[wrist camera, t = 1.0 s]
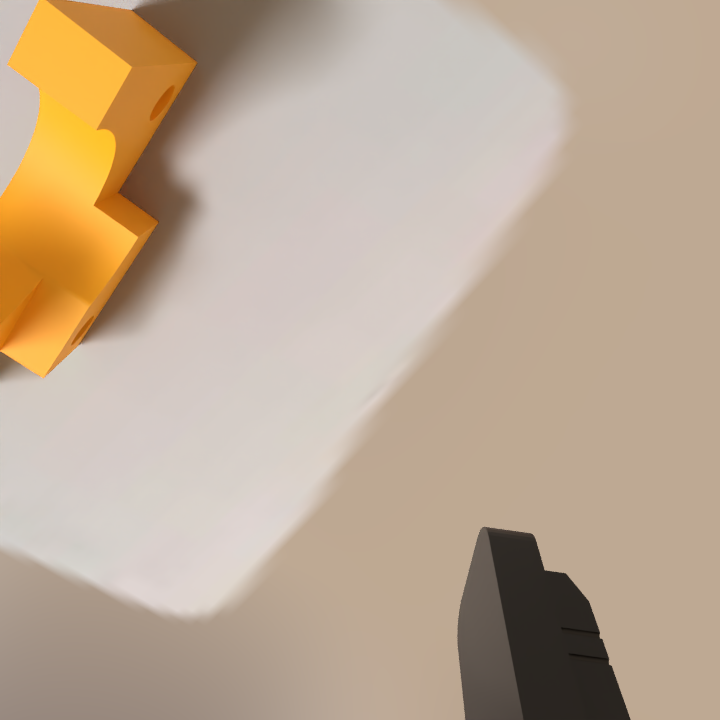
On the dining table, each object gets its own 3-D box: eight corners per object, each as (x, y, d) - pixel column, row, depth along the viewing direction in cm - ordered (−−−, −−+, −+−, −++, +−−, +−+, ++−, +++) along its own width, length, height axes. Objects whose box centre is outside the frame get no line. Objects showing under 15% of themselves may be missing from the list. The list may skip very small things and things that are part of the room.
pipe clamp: (80, 343, 28) (-4, 422, 22) (-17, 279, 27) (-132, 345, 21) (241, 96, 23) (190, 112, 17) (133, 10, 22) (41, -4, 16)
